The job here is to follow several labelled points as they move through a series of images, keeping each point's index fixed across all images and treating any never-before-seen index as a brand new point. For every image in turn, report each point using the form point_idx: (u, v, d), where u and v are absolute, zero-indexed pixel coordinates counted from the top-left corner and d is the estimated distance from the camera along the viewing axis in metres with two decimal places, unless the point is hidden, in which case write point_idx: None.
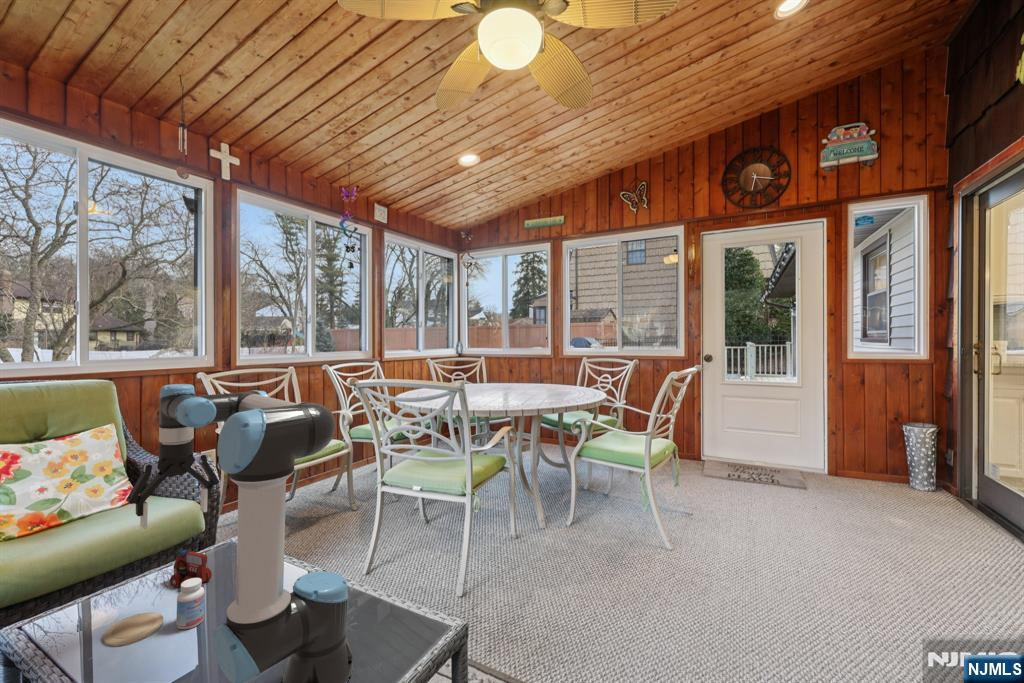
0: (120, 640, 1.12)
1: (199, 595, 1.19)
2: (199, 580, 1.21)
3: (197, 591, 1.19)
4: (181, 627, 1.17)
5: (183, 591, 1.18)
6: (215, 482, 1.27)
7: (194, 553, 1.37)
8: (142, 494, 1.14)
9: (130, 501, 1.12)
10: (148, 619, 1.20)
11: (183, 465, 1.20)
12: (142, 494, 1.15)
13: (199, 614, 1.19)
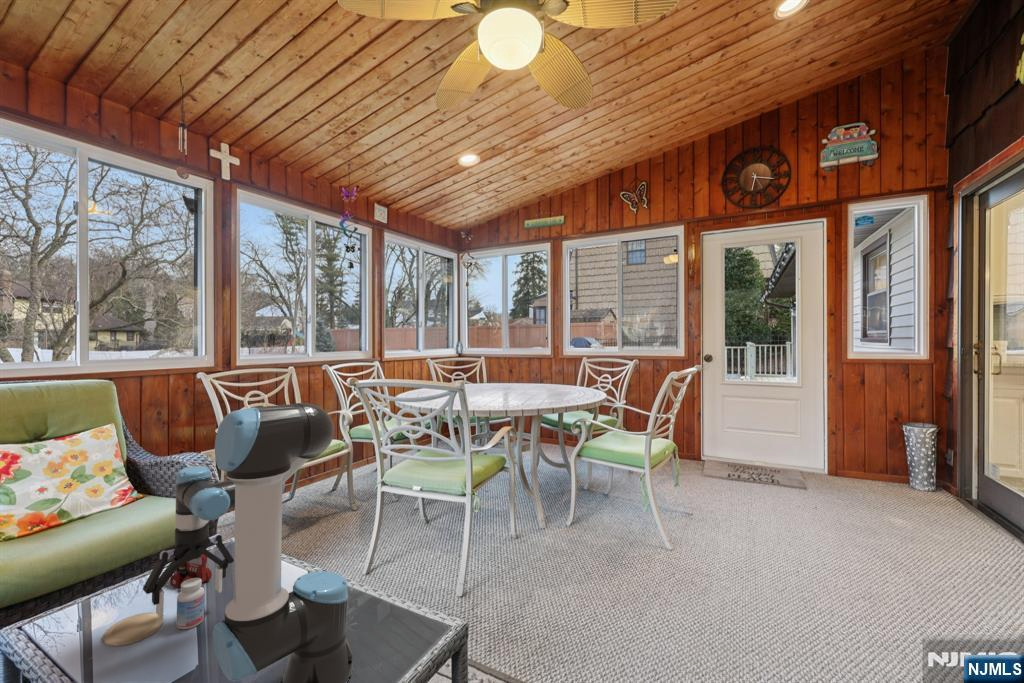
0: (120, 640, 1.12)
1: (199, 595, 1.19)
2: (199, 580, 1.21)
3: (197, 591, 1.19)
4: (181, 627, 1.17)
5: (183, 591, 1.18)
6: (230, 561, 1.27)
7: None
8: (158, 582, 1.14)
9: (147, 591, 1.11)
10: (148, 619, 1.20)
11: (199, 549, 1.20)
12: (158, 582, 1.14)
13: (199, 614, 1.19)
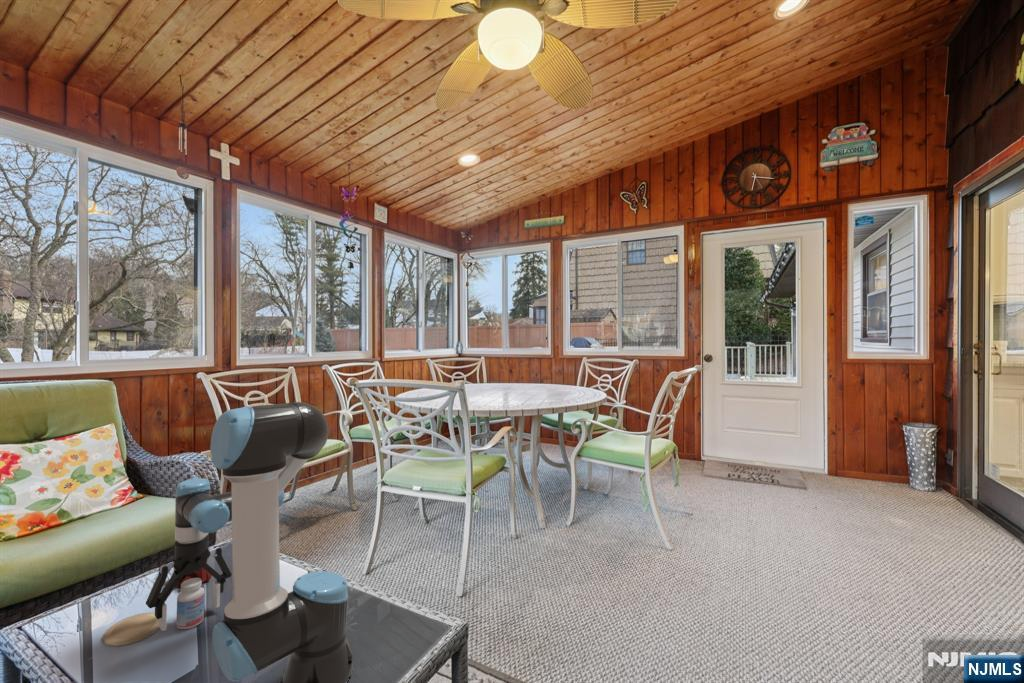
0: (120, 640, 1.12)
1: (199, 595, 1.19)
2: (199, 580, 1.21)
3: (197, 591, 1.19)
4: (181, 627, 1.17)
5: (183, 591, 1.18)
6: (228, 575, 1.26)
7: None
8: (160, 596, 1.14)
9: (149, 606, 1.12)
10: (148, 619, 1.20)
11: (199, 561, 1.20)
12: (160, 596, 1.14)
13: (199, 614, 1.19)
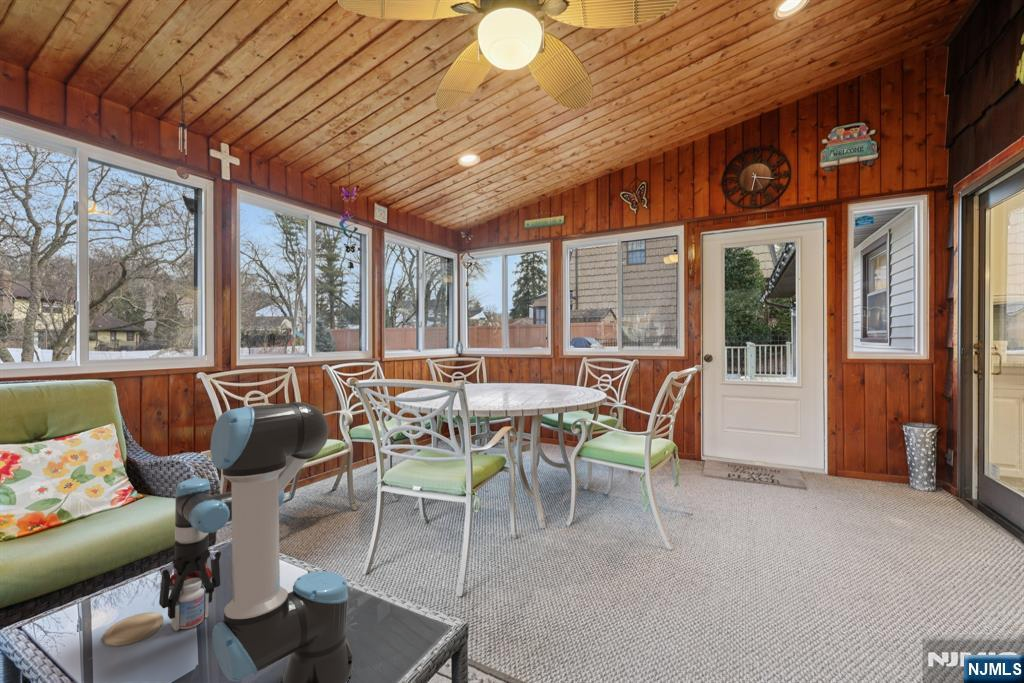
0: (120, 640, 1.12)
1: (199, 595, 1.19)
2: (199, 580, 1.21)
3: (197, 591, 1.19)
4: (181, 627, 1.17)
5: (183, 591, 1.18)
6: (216, 584, 1.24)
7: None
8: (171, 597, 1.16)
9: (163, 606, 1.14)
10: (148, 619, 1.20)
11: (199, 561, 1.20)
12: (171, 597, 1.16)
13: (199, 614, 1.19)
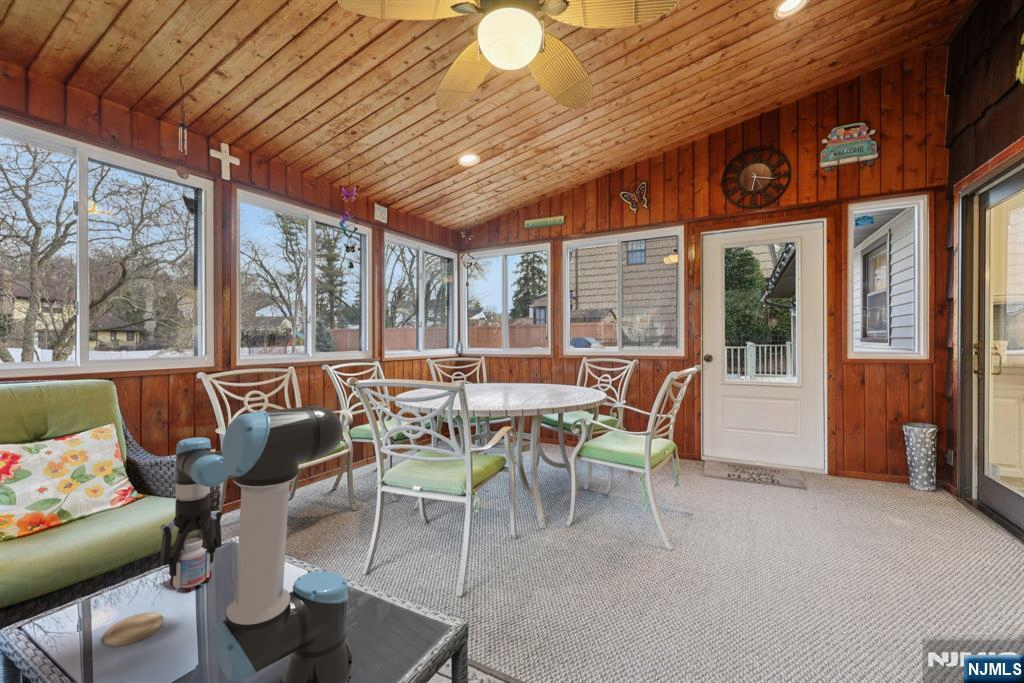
0: (120, 640, 1.12)
1: (200, 553, 1.19)
2: (200, 539, 1.21)
3: (198, 550, 1.19)
4: (182, 585, 1.17)
5: (184, 549, 1.18)
6: (218, 545, 1.24)
7: None
8: (172, 555, 1.16)
9: (164, 563, 1.14)
10: (148, 619, 1.20)
11: (200, 520, 1.19)
12: (172, 555, 1.16)
13: (200, 573, 1.19)
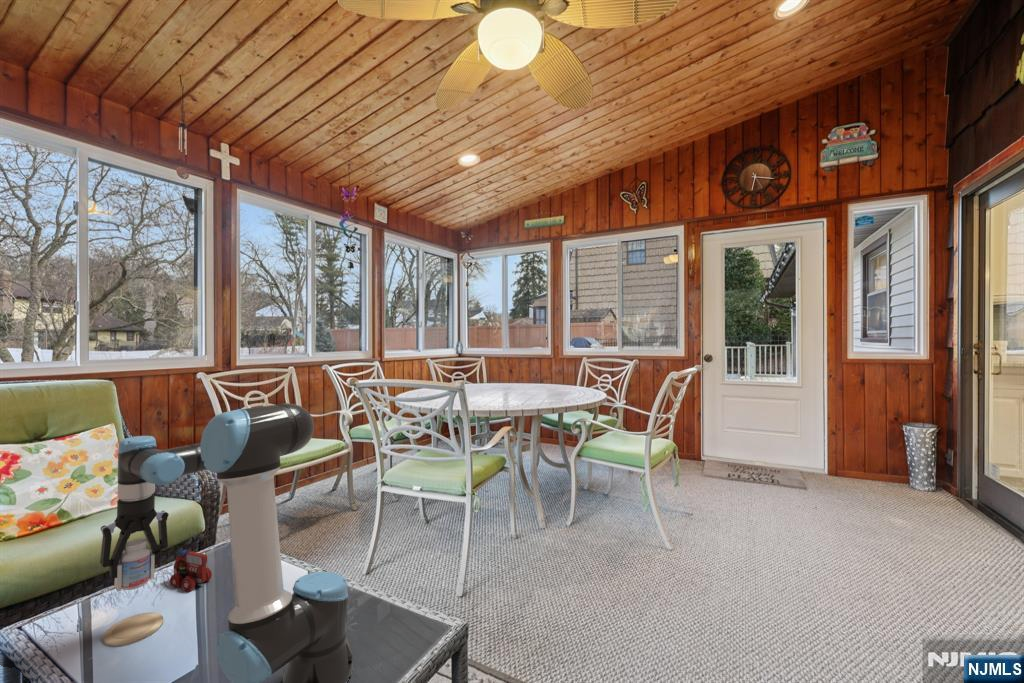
0: (120, 640, 1.12)
1: (143, 555, 1.16)
2: (144, 540, 1.17)
3: (141, 551, 1.16)
4: (124, 587, 1.14)
5: (126, 551, 1.14)
6: (163, 546, 1.20)
7: (194, 553, 1.37)
8: (113, 556, 1.13)
9: (103, 565, 1.10)
10: (148, 619, 1.20)
11: (143, 521, 1.16)
12: (113, 556, 1.13)
13: (143, 575, 1.16)
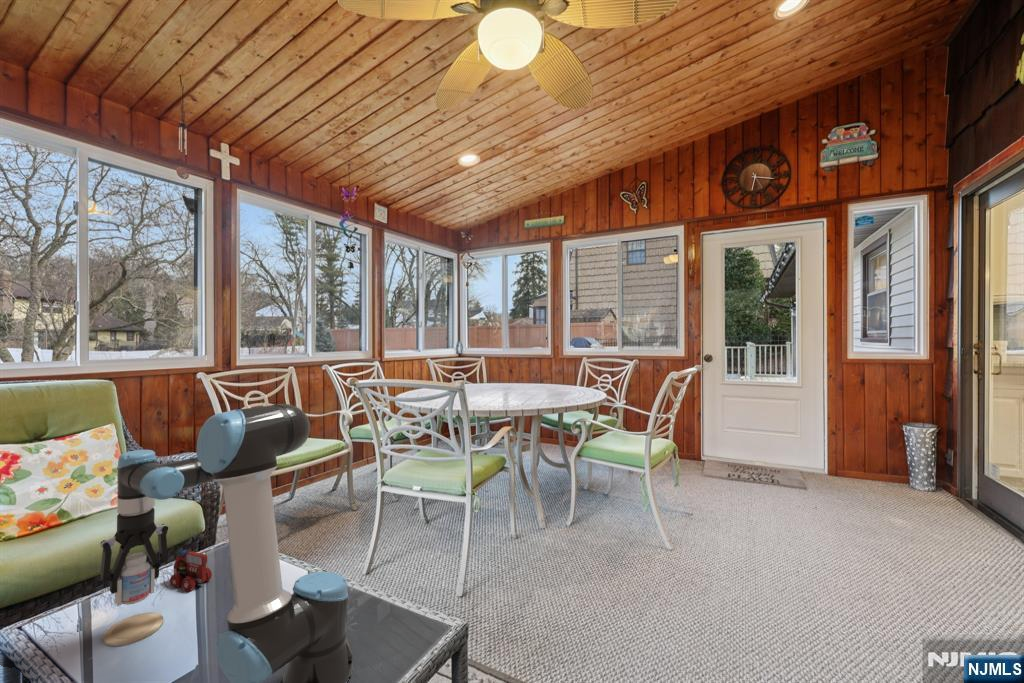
0: (120, 640, 1.12)
1: (143, 569, 1.16)
2: (144, 554, 1.17)
3: (141, 565, 1.16)
4: (124, 602, 1.14)
5: (126, 565, 1.14)
6: (163, 560, 1.20)
7: (194, 553, 1.37)
8: (113, 571, 1.13)
9: (103, 580, 1.10)
10: (148, 619, 1.20)
11: (143, 535, 1.16)
12: (113, 571, 1.13)
13: (143, 589, 1.16)
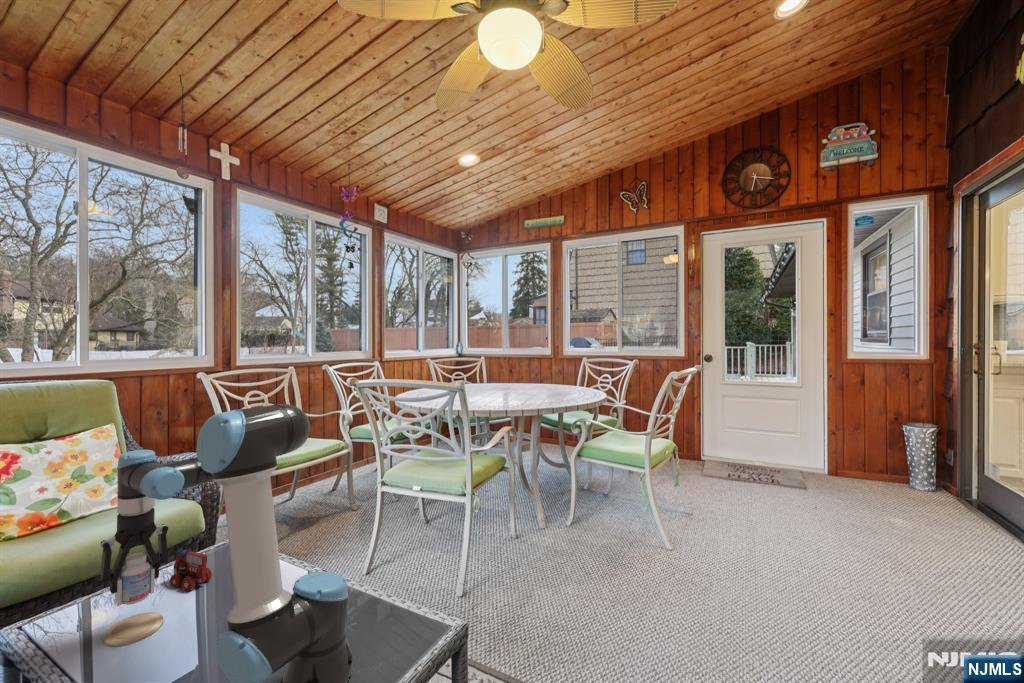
0: (120, 640, 1.12)
1: (143, 569, 1.16)
2: (144, 554, 1.17)
3: (141, 565, 1.16)
4: (124, 602, 1.14)
5: (126, 565, 1.14)
6: (163, 560, 1.20)
7: (194, 553, 1.37)
8: (113, 571, 1.13)
9: (103, 580, 1.10)
10: (148, 619, 1.20)
11: (143, 535, 1.16)
12: (113, 571, 1.13)
13: (143, 589, 1.16)
